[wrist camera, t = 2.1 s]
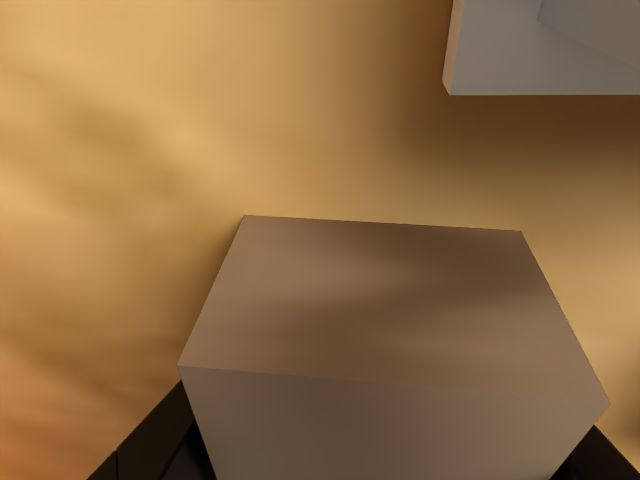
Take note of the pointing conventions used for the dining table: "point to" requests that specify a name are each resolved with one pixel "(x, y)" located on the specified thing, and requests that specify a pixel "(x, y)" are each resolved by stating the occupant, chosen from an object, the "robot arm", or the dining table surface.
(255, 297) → the walnut brick
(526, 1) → the grey square block
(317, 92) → the dining table surface
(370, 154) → the dining table surface
